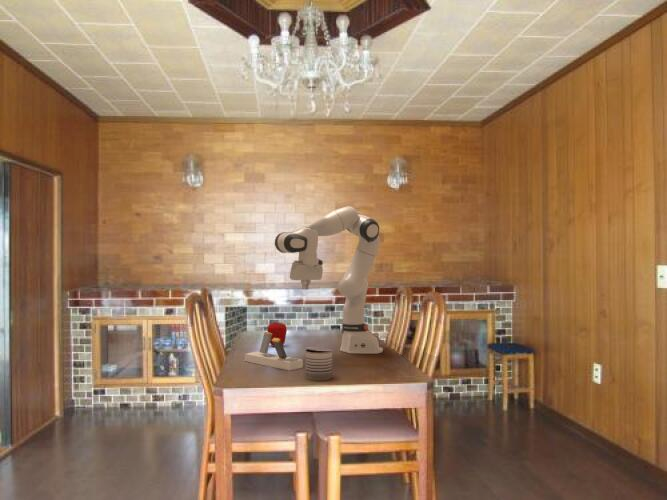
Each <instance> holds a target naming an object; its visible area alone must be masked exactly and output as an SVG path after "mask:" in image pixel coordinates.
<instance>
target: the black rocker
mask: <svg viewBox="0 0 667 500" xmlns="http://www.w3.org/2000/svg"><path fill="white" fill-rule="evenodd" d="M272 341H273V344H274V346H273V347H274V349H275V351H276V353H277V354H276V355H278V356H279V358H283V359H285V358H286V357H288V356H287V353H286V351H285V348H284V344H283V345H282V343H281V340H280V339H279V338H273V339H272Z"/></svg>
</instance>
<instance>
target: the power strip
mask: <svg viewBox="0 0 667 500" xmlns="http://www.w3.org/2000/svg"><path fill="white" fill-rule="evenodd" d="M244 361H245V362H246V361H247V363H252V364H257V365H262V366H266V367H271V368H275V369H279V370H280V369H281V370H285V371H290V372H291V371H294V370H298V369H299V370H300V369H301V368H303V366H304V365H303V363H304V360H303V359H302V358H295V357H290V356H287V357H286V358H285V359H283V358H279V356H278V354H273V353H268V352H267V354H265V353H260V352H259V351H258V350H257V351H252V352H248V353H244Z"/></svg>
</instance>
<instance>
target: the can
mask: <svg viewBox="0 0 667 500" xmlns="http://www.w3.org/2000/svg"><path fill="white" fill-rule="evenodd" d="M305 378H306V379H309V380H314V381H323V380H329V379H333V349H332V348H328V347H320V346H318V347H317V346H314V347H313V346H308V347H305Z"/></svg>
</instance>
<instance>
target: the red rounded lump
mask: <svg viewBox="0 0 667 500" xmlns="http://www.w3.org/2000/svg"><path fill="white" fill-rule="evenodd" d="M287 329H288V327H287V326H286V324H285V323H282V322H278V321H276V322H271V323H269V325H267V331H266V332H270V333H272V336H271V340H270V344H269V345H271V346H272V347H275V346H274V344H273V341H272V339H273V338H279V339H280V340H281V343H282V345H283V346H284V345H285V343H286V337H287V331H288V330H287Z"/></svg>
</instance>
